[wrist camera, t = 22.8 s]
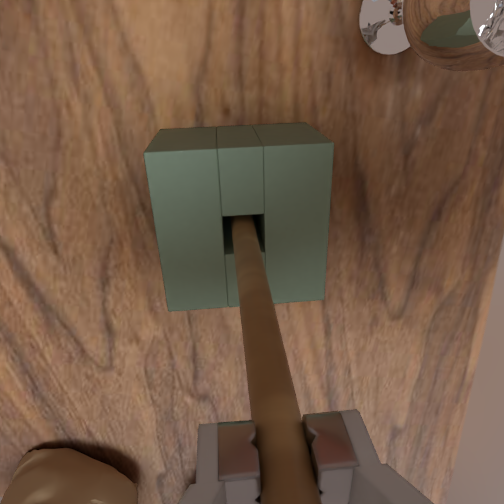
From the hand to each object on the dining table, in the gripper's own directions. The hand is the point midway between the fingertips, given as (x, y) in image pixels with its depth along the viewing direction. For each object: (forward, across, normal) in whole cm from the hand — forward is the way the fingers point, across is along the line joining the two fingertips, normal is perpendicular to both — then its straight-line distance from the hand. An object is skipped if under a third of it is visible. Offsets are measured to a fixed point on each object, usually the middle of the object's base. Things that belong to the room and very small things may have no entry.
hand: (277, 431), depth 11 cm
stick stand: (+20, 0, 0) cm, 20 cm away
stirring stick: (+17, 0, 0) cm, 17 cm away
